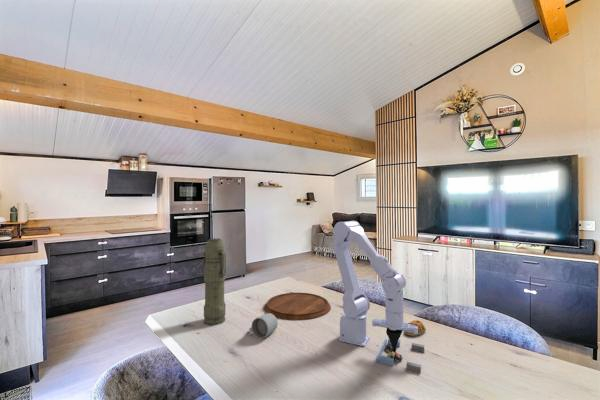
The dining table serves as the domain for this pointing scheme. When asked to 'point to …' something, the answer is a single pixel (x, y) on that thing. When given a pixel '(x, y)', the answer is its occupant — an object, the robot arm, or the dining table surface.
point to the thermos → (214, 282)
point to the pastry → (420, 328)
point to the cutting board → (297, 306)
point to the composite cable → (393, 353)
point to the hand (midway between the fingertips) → (394, 350)
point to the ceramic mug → (264, 325)
